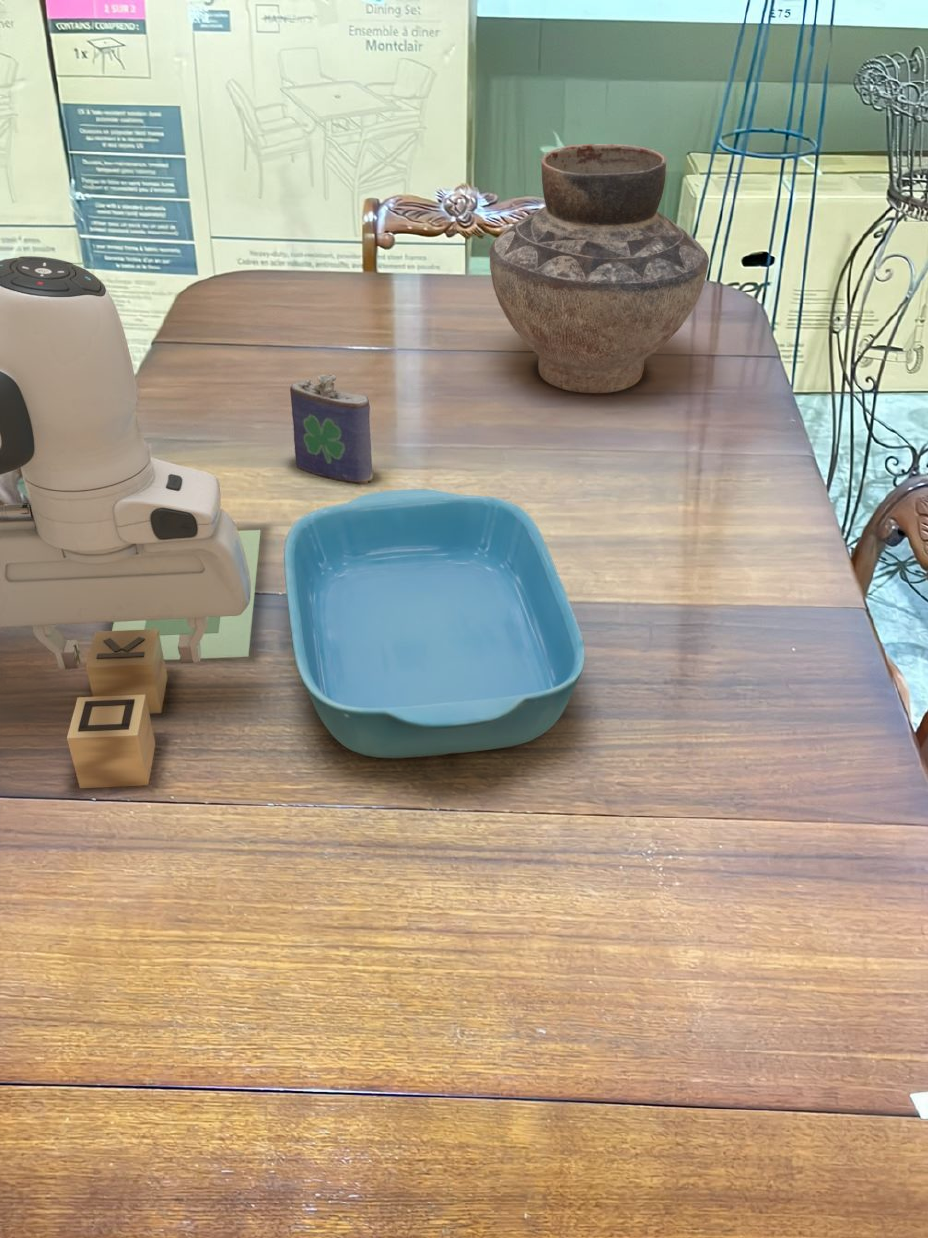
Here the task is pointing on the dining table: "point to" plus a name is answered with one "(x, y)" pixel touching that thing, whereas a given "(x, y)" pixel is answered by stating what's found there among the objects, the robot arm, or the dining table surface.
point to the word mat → (210, 620)
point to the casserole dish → (429, 623)
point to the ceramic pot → (597, 268)
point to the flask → (331, 431)
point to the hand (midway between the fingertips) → (131, 662)
